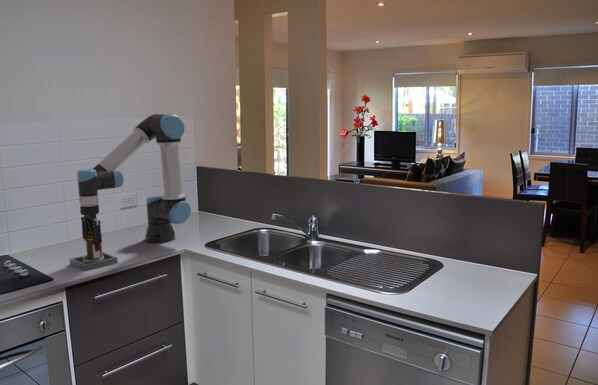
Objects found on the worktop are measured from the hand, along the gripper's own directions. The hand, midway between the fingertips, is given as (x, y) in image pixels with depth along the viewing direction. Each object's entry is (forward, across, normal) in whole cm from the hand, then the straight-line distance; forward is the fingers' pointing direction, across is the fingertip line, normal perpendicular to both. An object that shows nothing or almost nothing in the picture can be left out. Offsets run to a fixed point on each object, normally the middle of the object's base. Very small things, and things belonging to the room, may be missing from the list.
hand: (93, 256), depth 225 cm
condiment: (+1, 0, 0) cm, 1 cm away
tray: (+3, 0, 0) cm, 3 cm away
